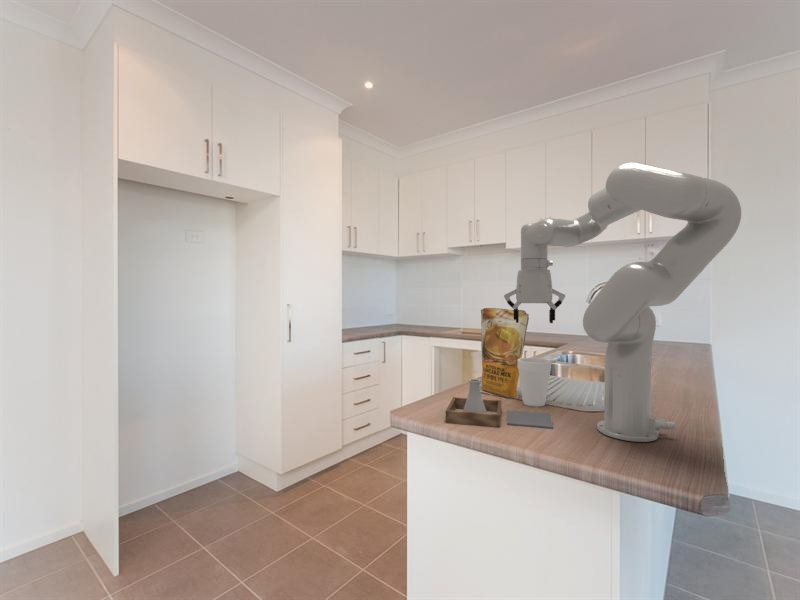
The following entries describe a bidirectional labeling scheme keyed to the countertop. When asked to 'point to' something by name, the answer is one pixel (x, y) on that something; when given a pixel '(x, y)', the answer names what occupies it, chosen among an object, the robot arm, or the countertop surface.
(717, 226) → the robot arm
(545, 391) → the foam cup
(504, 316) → the pancake mix bag
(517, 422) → the charcoal mat
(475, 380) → the flask
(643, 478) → the countertop surface
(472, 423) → the walnut frame
